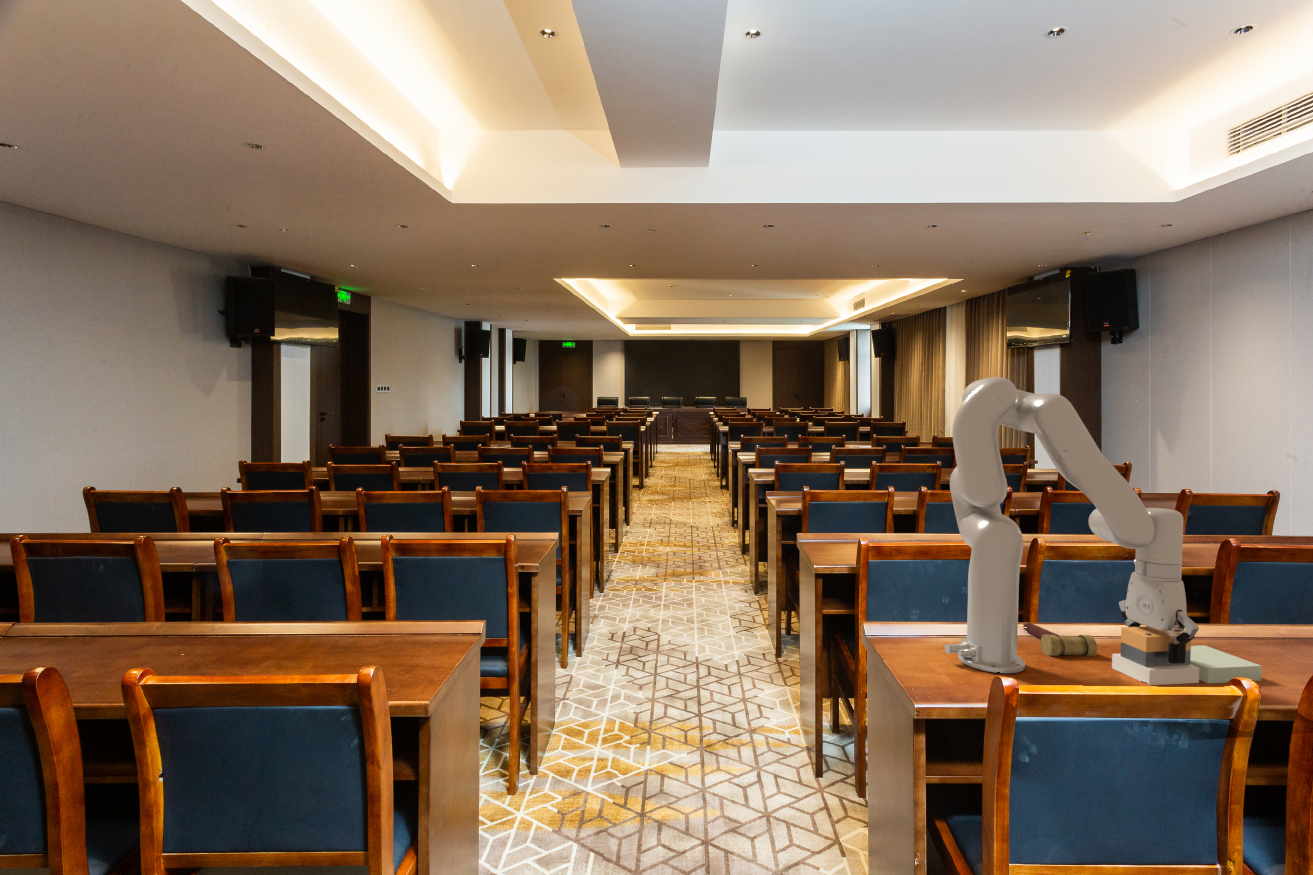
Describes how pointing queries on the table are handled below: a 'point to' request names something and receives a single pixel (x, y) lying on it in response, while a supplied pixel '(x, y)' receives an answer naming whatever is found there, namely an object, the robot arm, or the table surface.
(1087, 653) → the gavel
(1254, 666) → the stand
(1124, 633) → the housing cover
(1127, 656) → the housing base
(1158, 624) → the robot arm
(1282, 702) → the table surface
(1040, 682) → the table surface
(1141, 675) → the stand
